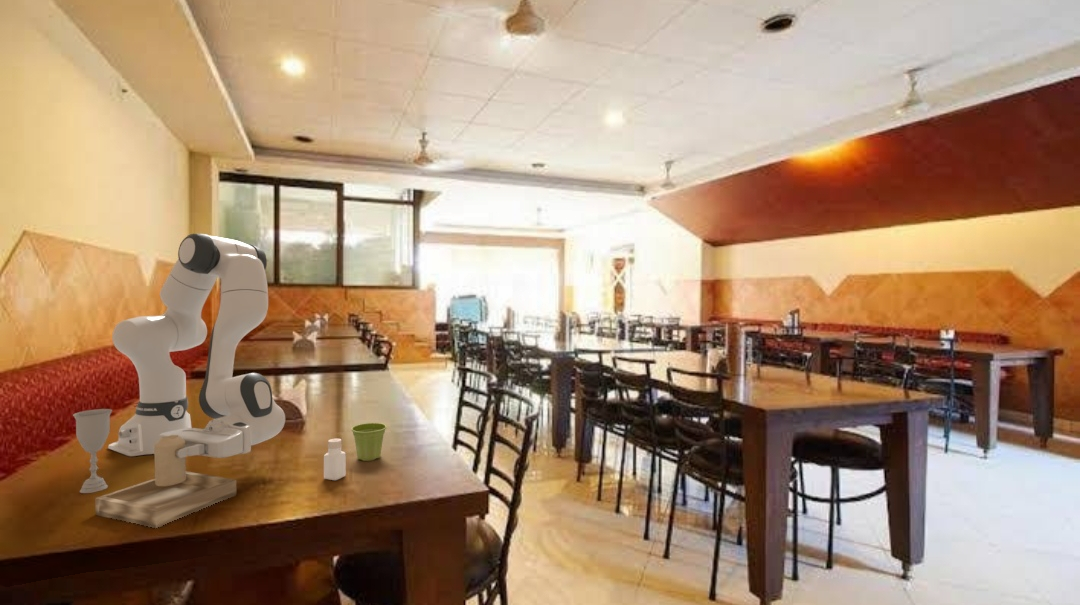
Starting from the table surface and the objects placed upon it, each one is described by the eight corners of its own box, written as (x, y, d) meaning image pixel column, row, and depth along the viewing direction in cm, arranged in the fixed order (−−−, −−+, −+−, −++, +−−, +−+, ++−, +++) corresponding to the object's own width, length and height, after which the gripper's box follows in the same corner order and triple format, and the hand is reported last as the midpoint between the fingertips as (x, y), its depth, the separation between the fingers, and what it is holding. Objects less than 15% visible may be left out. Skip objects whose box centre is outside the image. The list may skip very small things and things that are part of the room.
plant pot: (386, 461, 144) (386, 430, 144) (350, 464, 142) (350, 432, 141) (386, 451, 153) (386, 422, 153) (352, 454, 151) (352, 424, 150)
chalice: (93, 482, 127) (92, 408, 126) (121, 483, 126) (120, 409, 126) (65, 494, 119) (64, 416, 119) (94, 495, 119) (93, 416, 119)
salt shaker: (335, 481, 129) (335, 443, 129) (322, 479, 130) (322, 441, 130) (346, 476, 133) (346, 438, 133) (334, 474, 134) (334, 437, 134)
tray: (95, 514, 109) (95, 498, 109) (180, 484, 126) (180, 470, 126) (155, 528, 103) (155, 511, 103) (236, 495, 120) (236, 480, 120)
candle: (170, 487, 111) (169, 440, 111) (148, 485, 112) (147, 439, 112) (192, 478, 117) (191, 433, 116) (171, 476, 118) (170, 432, 117)
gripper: (192, 418, 130) (132, 433, 117) (255, 426, 123) (199, 442, 110) (192, 444, 130) (133, 461, 117) (255, 452, 123) (200, 472, 110)
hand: (165, 452), depth 113 cm, fingers closed on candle, 5 cm apart
